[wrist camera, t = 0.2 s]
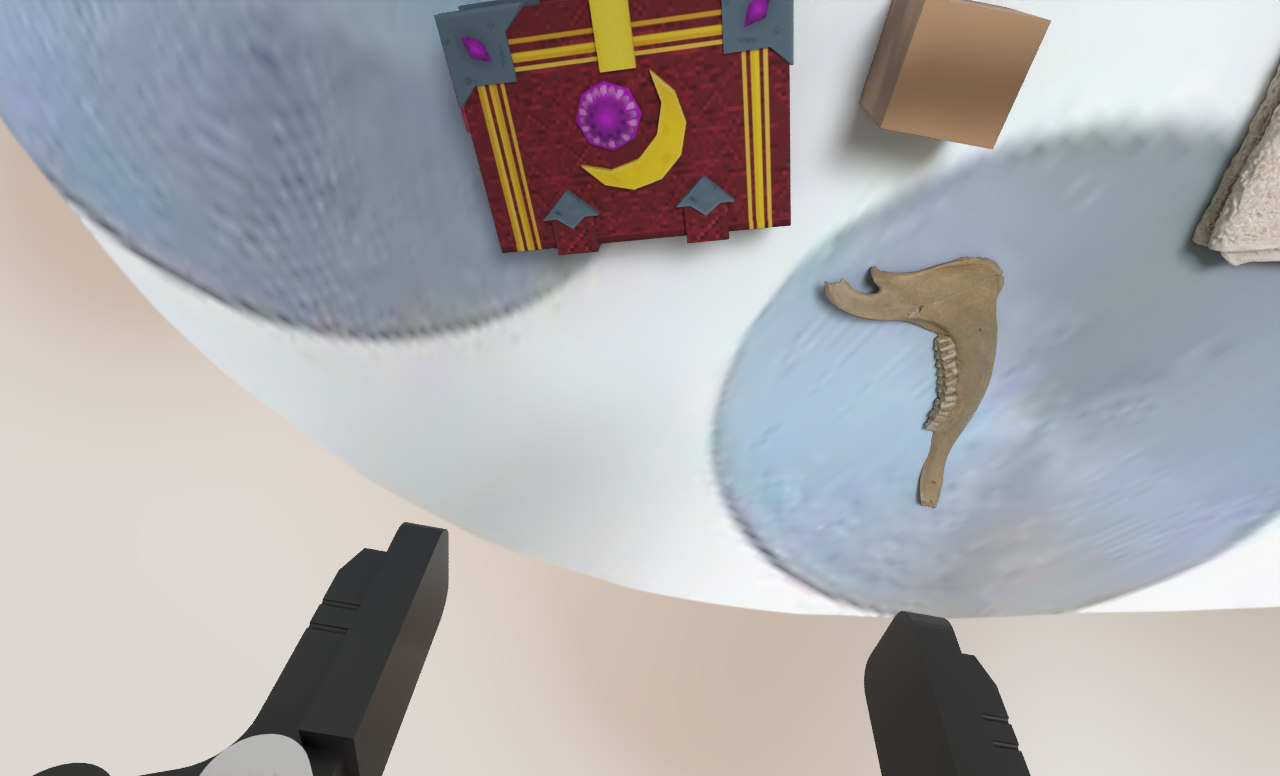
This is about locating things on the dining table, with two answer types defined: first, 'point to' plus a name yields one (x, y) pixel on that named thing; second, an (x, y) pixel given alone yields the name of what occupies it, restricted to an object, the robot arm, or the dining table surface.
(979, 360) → the jawbone
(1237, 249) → the washcloth
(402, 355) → the dining table surface
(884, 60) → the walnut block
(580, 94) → the decorative book
